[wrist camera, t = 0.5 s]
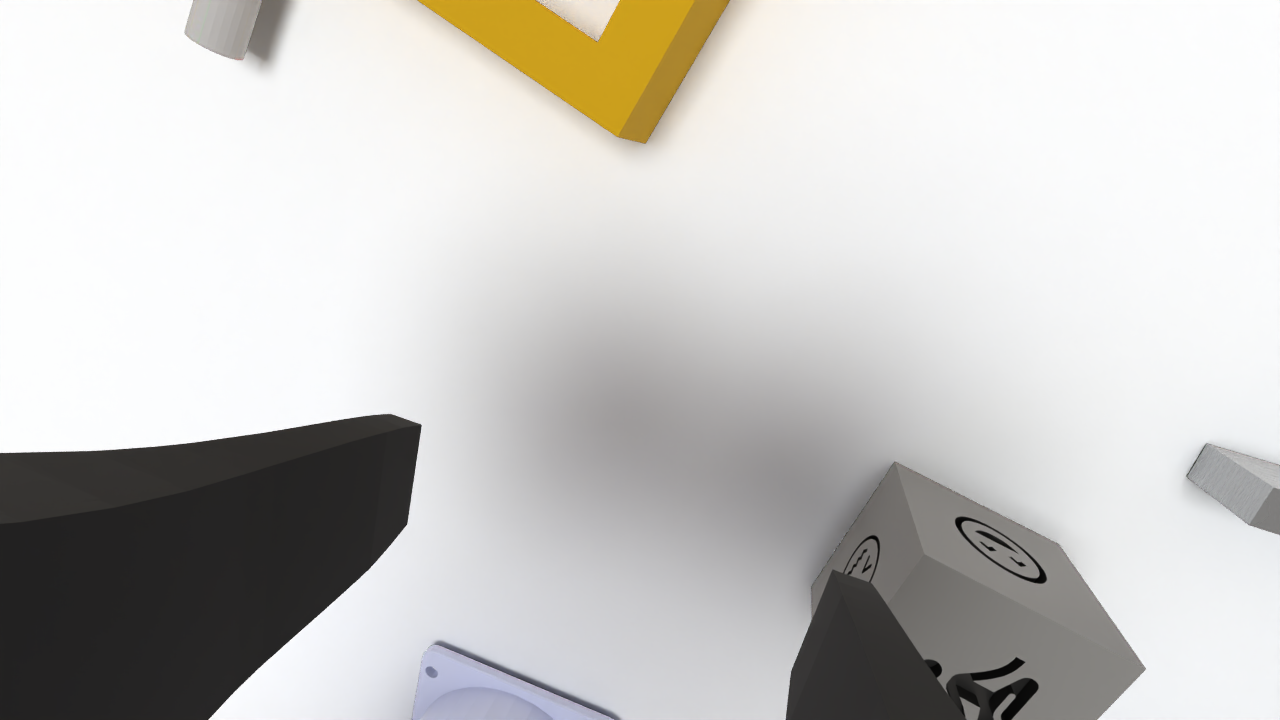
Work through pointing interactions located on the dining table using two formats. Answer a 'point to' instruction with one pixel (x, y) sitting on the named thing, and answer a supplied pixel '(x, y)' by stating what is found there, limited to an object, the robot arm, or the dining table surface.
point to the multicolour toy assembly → (546, 49)
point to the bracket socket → (1241, 485)
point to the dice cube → (986, 604)
